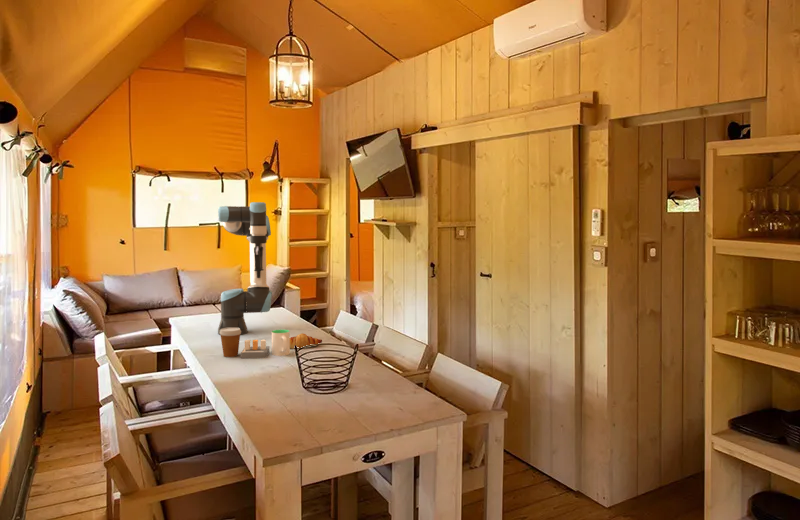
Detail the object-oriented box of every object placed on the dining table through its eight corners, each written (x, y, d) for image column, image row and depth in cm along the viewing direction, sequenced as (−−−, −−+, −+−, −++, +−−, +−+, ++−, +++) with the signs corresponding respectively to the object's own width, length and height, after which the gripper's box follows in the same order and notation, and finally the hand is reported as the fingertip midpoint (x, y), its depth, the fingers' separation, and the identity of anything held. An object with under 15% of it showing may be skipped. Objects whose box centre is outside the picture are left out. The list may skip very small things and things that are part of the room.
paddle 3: (261, 348, 270) (261, 339, 270) (265, 348, 271) (265, 339, 270) (260, 349, 268) (260, 341, 267) (265, 349, 268) (265, 341, 267)
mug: (295, 356, 267) (295, 333, 266) (278, 358, 263) (278, 335, 262) (286, 350, 277) (285, 328, 276) (269, 352, 273) (269, 330, 272)
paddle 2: (253, 348, 270) (253, 339, 270) (258, 348, 270) (258, 339, 270) (252, 349, 267) (252, 341, 267) (257, 349, 267) (257, 341, 267)
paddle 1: (245, 348, 270) (245, 339, 269) (250, 348, 270) (250, 339, 270) (244, 350, 267) (244, 341, 266) (249, 349, 267) (249, 341, 267)
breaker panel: (245, 352, 274) (245, 346, 274) (269, 351, 275) (269, 345, 275) (240, 358, 262) (240, 352, 262) (266, 358, 264) (266, 351, 263)
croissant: (278, 356, 280) (278, 343, 276) (276, 342, 288) (276, 330, 284) (323, 353, 286) (323, 340, 282) (320, 339, 294) (320, 327, 290)
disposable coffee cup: (235, 358, 262) (235, 331, 261) (215, 357, 264) (215, 330, 263) (245, 353, 272) (244, 327, 271) (226, 352, 273) (225, 326, 272)
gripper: (252, 234, 285) (253, 282, 287) (248, 235, 272) (248, 286, 274) (268, 234, 286) (268, 282, 288) (264, 235, 273) (265, 286, 275)
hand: (259, 284), depth 281 cm, fingers closed
